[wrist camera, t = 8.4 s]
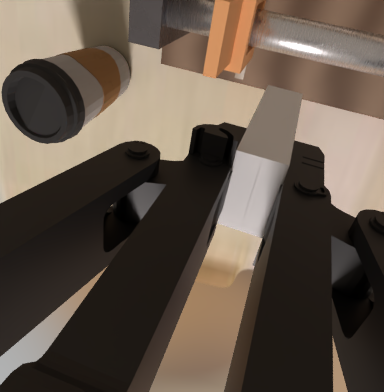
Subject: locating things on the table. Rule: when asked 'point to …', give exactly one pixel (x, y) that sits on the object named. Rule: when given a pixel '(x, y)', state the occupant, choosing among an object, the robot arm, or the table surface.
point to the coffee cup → (64, 92)
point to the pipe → (260, 33)
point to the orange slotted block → (230, 36)
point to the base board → (299, 67)
